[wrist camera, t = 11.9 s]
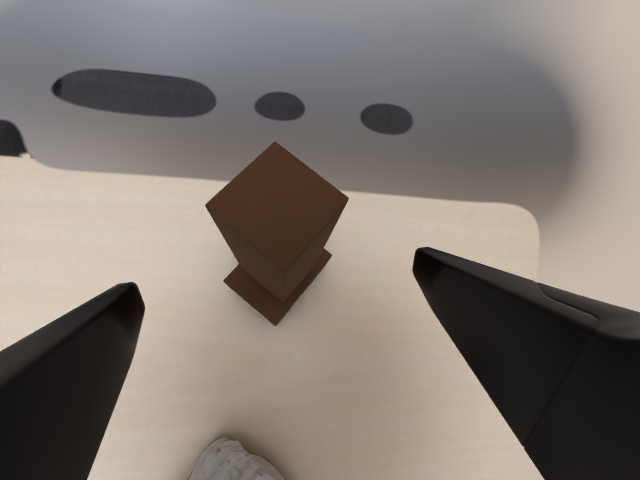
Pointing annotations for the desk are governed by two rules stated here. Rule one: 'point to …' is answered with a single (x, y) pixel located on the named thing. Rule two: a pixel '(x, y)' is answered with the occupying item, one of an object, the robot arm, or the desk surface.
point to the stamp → (276, 229)
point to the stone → (232, 463)
